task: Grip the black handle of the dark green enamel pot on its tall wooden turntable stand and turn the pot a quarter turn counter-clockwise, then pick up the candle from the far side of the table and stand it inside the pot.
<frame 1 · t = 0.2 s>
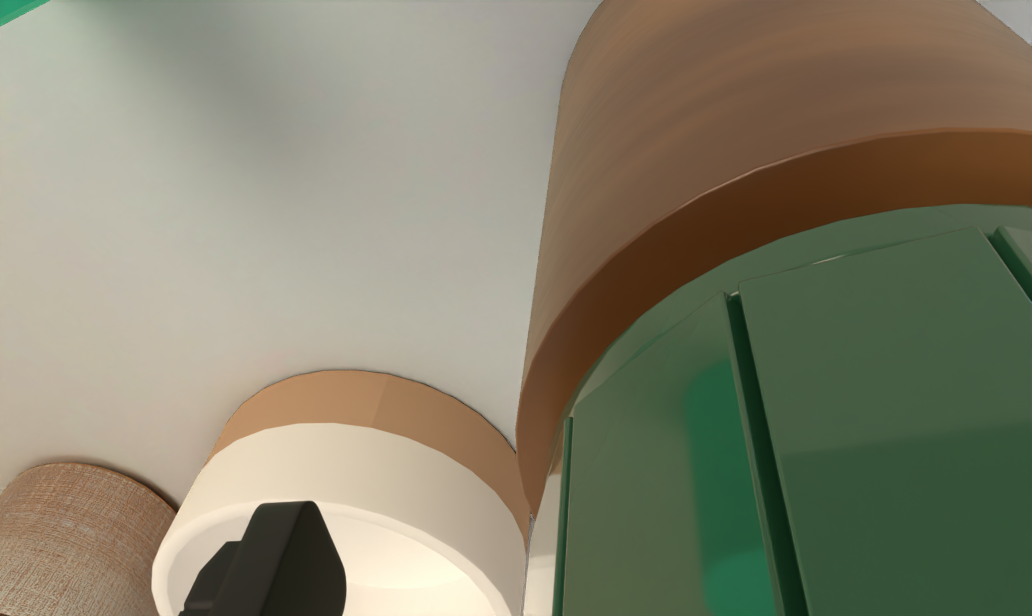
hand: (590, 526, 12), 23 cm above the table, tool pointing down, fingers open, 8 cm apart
bowl: (375, 486, 46), on the table
planter: (106, 517, 50), on the table
stand: (756, 125, 32), on the table
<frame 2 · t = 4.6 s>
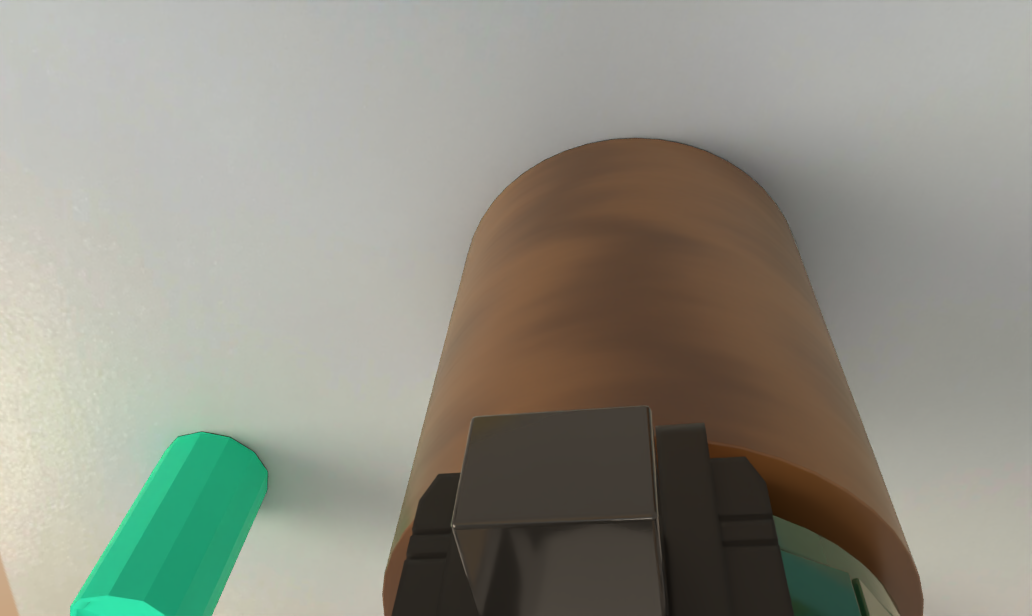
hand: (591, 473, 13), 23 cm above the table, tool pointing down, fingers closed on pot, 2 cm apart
candle: (218, 468, 48), on the table
stand: (628, 292, 38), on the table
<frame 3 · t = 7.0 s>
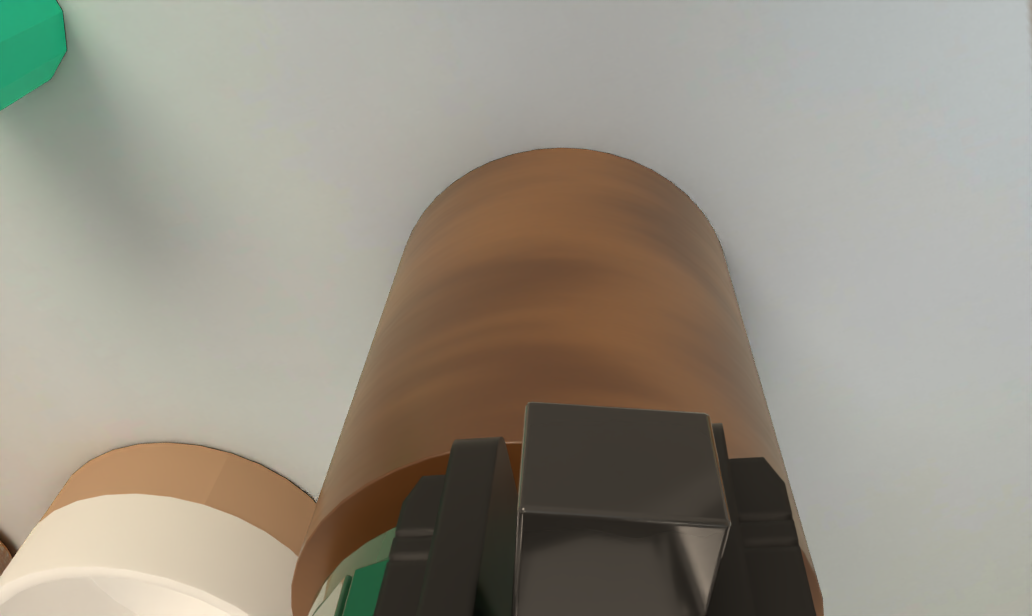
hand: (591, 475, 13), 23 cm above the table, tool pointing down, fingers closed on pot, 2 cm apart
bowl: (206, 545, 50), on the table
stand: (561, 300, 38), on the table
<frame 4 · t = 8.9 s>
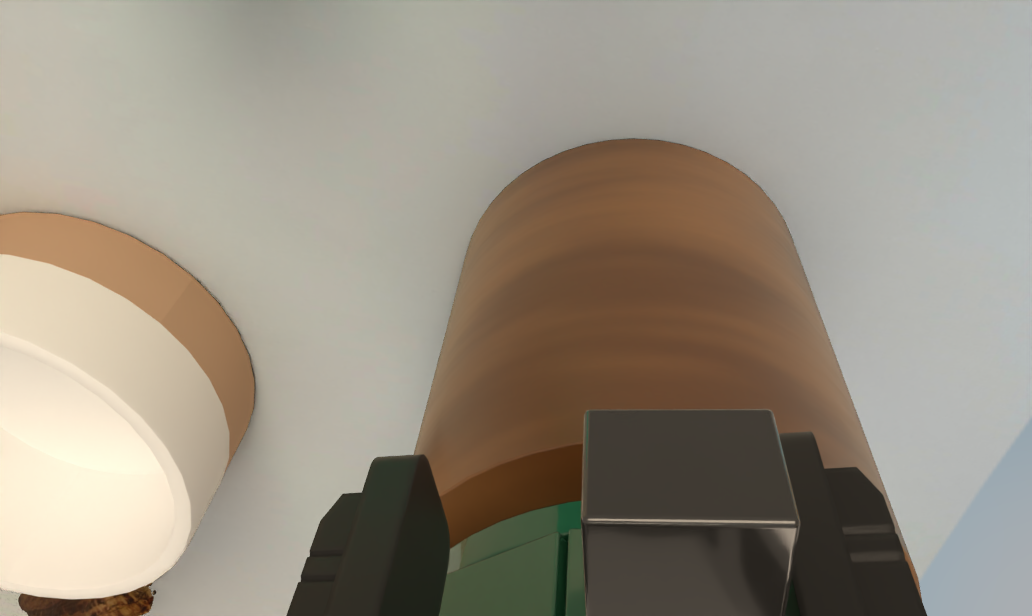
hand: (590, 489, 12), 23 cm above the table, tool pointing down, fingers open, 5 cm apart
bowl: (93, 355, 43), on the table
oyster shell: (98, 573, 54), on the table
stand: (626, 292, 38), on the table
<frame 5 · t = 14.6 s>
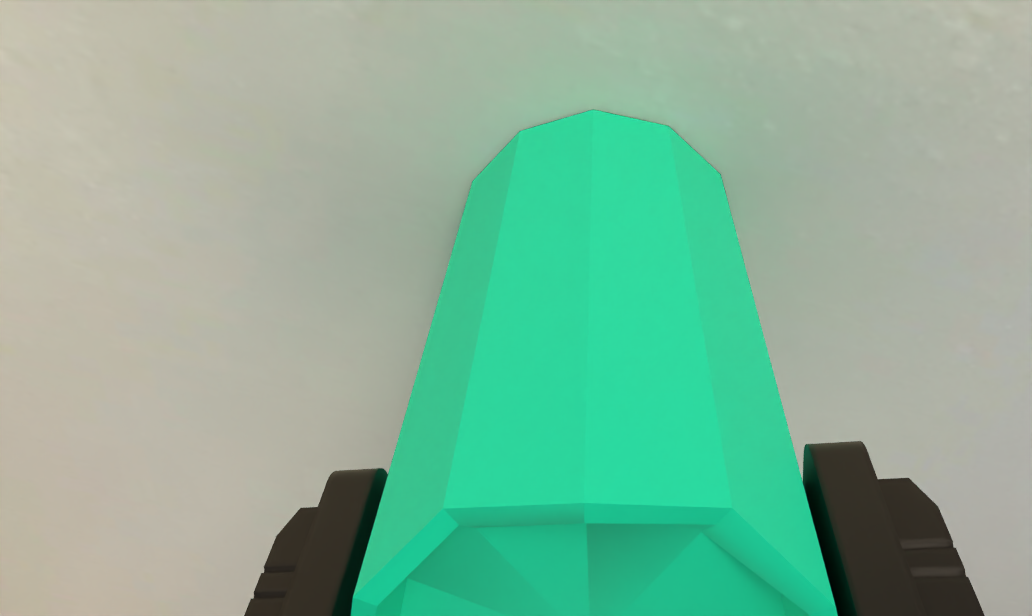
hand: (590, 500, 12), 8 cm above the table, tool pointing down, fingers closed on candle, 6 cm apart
candle: (595, 235, 19), on the table, touching gripper
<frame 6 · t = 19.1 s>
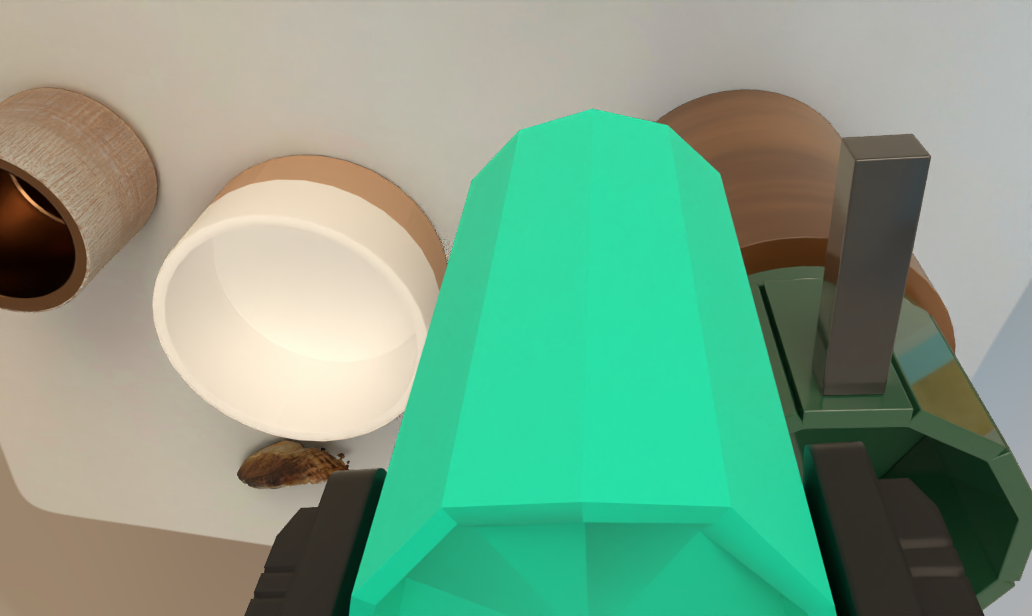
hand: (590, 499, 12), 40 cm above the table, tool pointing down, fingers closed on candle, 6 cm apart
bowl: (327, 266, 58), on the table
pot: (819, 384, 32), point 23 cm above the table, hinge at 84.9°
planter: (80, 162, 55), on the table
candle: (595, 234, 19), point 32 cm above the table, touching gripper
oyster shell: (298, 452, 69), on the table
stand: (730, 204, 53), on the table
when the fingers open (27 cm above the table, at t = 23.9 s): candle stays where it is, resting on pot.
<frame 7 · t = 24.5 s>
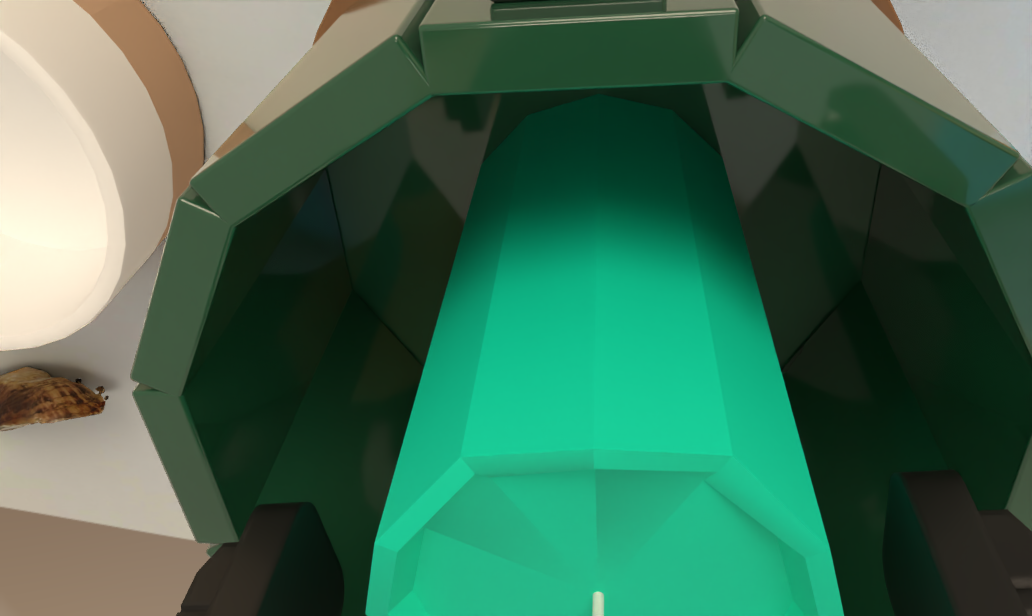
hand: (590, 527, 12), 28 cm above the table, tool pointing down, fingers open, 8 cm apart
bowl: (31, 102, 40), on the table
pot: (588, 101, 14), point 23 cm above the table, hinge at 84.9°, touching candle
candle: (600, 217, 19), point 19 cm above the table, touching pot
oyster shell: (49, 386, 51), on the table
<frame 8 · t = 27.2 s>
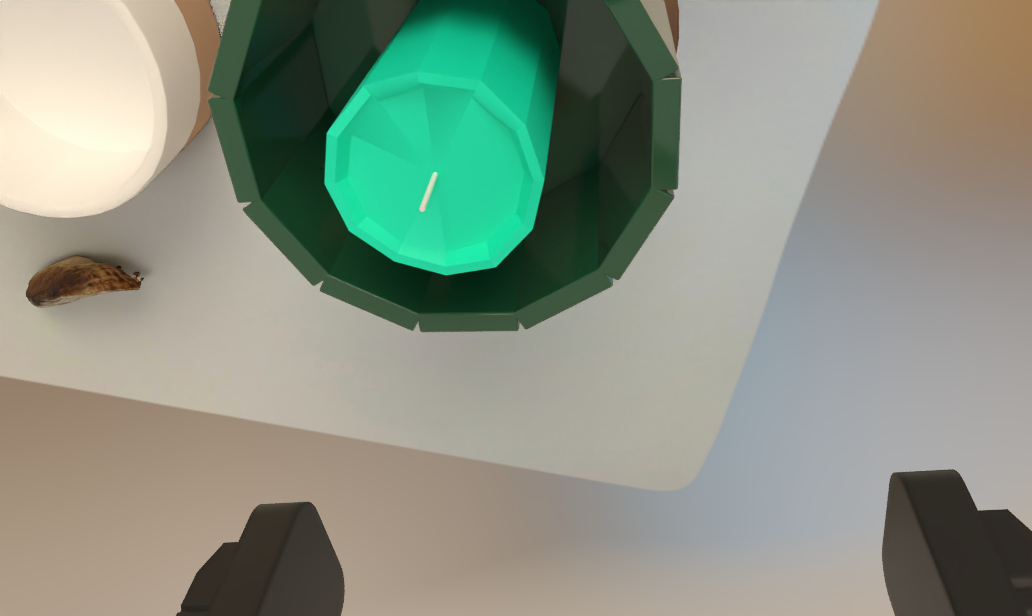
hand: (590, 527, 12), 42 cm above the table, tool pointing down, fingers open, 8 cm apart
bowl: (89, 32, 52), on the table
candle: (480, 54, 31), point 19 cm above the table, touching pot
oyster shell: (94, 273, 63), on the table
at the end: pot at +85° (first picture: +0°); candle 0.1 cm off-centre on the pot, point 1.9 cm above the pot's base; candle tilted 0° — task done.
